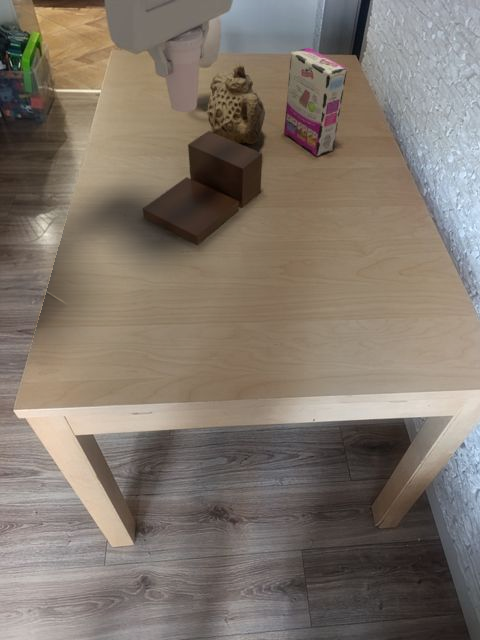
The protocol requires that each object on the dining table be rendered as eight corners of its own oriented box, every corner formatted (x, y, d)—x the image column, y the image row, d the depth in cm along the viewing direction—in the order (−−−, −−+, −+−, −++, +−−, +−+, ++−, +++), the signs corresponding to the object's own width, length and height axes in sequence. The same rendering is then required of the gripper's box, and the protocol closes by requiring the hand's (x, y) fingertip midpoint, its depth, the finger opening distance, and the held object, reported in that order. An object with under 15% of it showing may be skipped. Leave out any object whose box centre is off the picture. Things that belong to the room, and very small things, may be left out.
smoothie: (214, 103, 74) (211, -8, 63) (187, 121, 70) (179, 6, 59) (180, 90, 76) (171, -20, 65) (152, 107, 72) (138, -7, 61)
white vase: (203, 121, 109) (197, 13, 93) (183, 108, 113) (175, 0, 96) (229, 111, 113) (228, 5, 96) (209, 98, 116) (205, -7, 99)
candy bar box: (334, 150, 105) (349, 67, 92) (316, 157, 103) (329, 74, 90) (300, 127, 110) (309, 45, 97) (282, 133, 108) (289, 51, 95)
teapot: (195, 120, 110) (190, 45, 98) (244, 112, 113) (245, 38, 101) (230, 173, 98) (229, 95, 86) (283, 162, 101) (290, 86, 89)
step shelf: (143, 217, 88) (137, 178, 82) (210, 169, 98) (208, 130, 92) (197, 245, 85) (194, 205, 78) (260, 192, 95) (262, 153, 88)
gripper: (205, -83, 64) (209, 36, 75) (85, -48, 53) (110, 85, 64) (245, -73, 62) (243, 48, 73) (129, -34, 52) (147, 101, 62)
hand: (180, 66), depth 69 cm, fingers closed on smoothie, 5 cm apart
